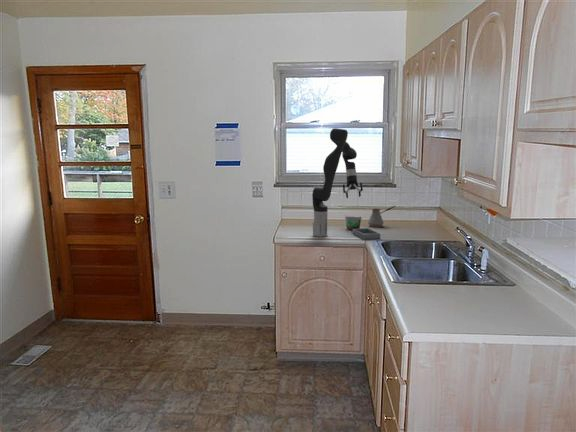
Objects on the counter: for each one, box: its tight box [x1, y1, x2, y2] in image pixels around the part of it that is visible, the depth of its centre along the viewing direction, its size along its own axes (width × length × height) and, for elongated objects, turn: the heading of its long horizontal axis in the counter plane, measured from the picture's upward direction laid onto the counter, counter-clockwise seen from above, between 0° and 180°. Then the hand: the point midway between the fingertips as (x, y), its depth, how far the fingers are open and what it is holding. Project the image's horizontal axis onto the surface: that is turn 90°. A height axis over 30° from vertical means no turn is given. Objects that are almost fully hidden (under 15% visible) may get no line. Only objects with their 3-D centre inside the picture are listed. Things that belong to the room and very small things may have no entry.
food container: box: [344, 215, 363, 232], centre depth 311 cm, size 12×6×10 cm, turn 62°
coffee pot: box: [367, 205, 397, 228], centre depth 324 cm, size 21×12×15 cm, turn 99°
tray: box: [351, 227, 381, 241], centre depth 293 cm, size 12×18×4 cm, turn 16°
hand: (353, 197), depth 318 cm, fingers open, 8 cm apart
